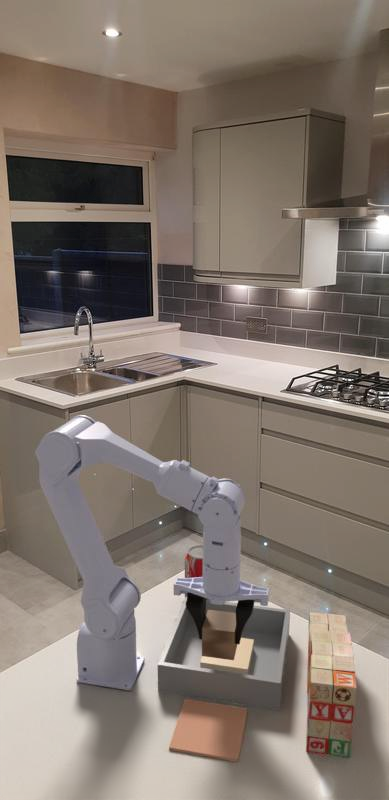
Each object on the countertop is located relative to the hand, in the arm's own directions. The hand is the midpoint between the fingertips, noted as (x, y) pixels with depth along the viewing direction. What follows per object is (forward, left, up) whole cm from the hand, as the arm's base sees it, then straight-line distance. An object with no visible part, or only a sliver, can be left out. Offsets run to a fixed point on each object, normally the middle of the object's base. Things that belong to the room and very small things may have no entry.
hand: (220, 637), depth 101 cm
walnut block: (0, 0, -2) cm, 2 cm away
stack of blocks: (+17, +2, -11) cm, 20 cm away
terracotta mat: (0, -8, -10) cm, 13 cm away
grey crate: (0, +8, -11) cm, 14 cm away
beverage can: (-8, +23, -11) cm, 27 cm away
